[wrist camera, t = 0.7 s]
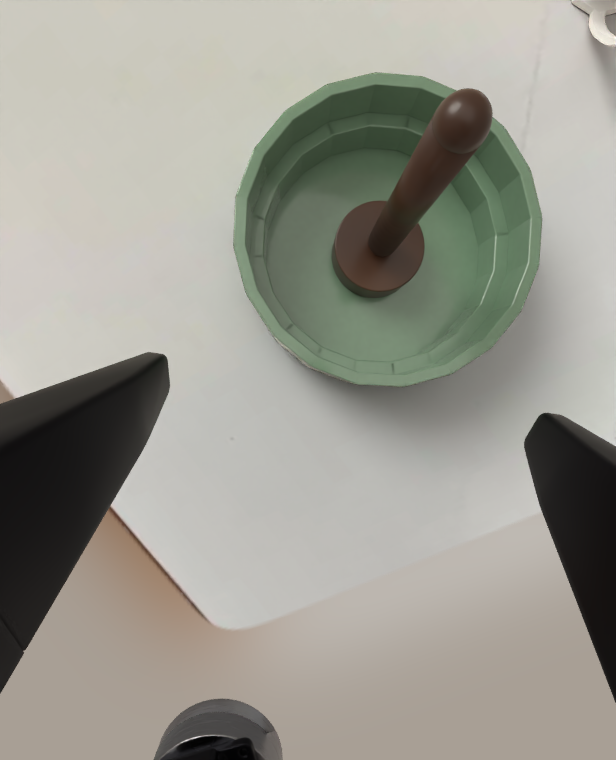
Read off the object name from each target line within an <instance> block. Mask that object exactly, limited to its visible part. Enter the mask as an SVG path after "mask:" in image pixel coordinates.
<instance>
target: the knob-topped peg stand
mask: <svg viewBox="0 0 616 760" xmlns="http://www.w3.org/2000/svg"><path fill="white" fill-rule="evenodd" d="M491 124H492V107H491V104H490V102H489V100H488V98H487V97H486V96H485V95H484V94H483V93H482V92H480V91H478V90H475V89H469V88H466V89H461V90H458V91H456V92H453V93H452V94H450V95H449V96H448V97H446V98H445V99H444V100H443V101H442V102H441V104H440V105H439V106H438V108H437V109H436V111H435V113H434V115H433V117H432V119H431V121H430V122H429V124H428V126H427V128H426V130H425V132H424V134H423V136H422V137H421V139H420V141H419V143H418V145H417V147H416V149H415V151H414V152H413V154H412V156H411V158H410V160H409V162H408V164H407V165H406V167H405V169H404V171H403V173H402V175H401V177H400V179H399V180H398V182H397V184H396V186H395V188H394V190H393V192H392V194H391V195H390V197H389V199H388V201H370V202H366V203H363V204H361V205H359V206H357V207H356V208H354V209H352V210H351V211H350V212H349V213H348V214H347V215H346V216H345V217H344V219H343V220H342V222H341V223H340V225H339V227H338V230H337V233H336V236H335V239H334V243H333V247H332V264H333V268H334V271H335V273H336V275H337V277H338V279H339V280H340V282H341V283H342V284H343V285H344V286H345V287H346V288H347V289H348V290H350V291H351V292H353V293H355V294H357V295H360V296H362V297H367V298H380V297H385V296H388V295H390V294H392V293H394V292H396V291H397V290H399V289H400V288H401V287H403V286H404V285H405V284H406V283H407V282H409V281H410V280H411V279H412V278H413V277H414V275H415V274H416V273H417V271H418V270H419V268H420V266H421V263H422V260H423V257H424V250H425V244H424V237H423V233H422V230H421V227H420V225H419V223H418V222H419V221H420V219H421V218H422V217H423V216H424V215H425V213H426V212H427V211H428V210H429V208H430V207H431V206H432V205H433V203H434V202H435V201H436V200H437V199H438V197H439V196H440V195H441V194H442V192H443V191H444V190H445V189H446V187H447V186H448V185H449V184H450V183H451V181H452V180H453V179H454V178H455V176H456V175H457V174H458V173H459V172H460V170H461V169H462V168H463V167H464V165H465V164H466V163H467V162H468V160H469V159H470V158H471V157H472V156H473V154H474V153H475V152H476V151H477V149H478V148H479V147H480V146H481V145H482V143H483V142H484V140H485V139H486V137H487V135H488V133H489V131H490V128H491Z"/></svg>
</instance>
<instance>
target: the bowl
mask: <svg viewBox="0 0 616 760" xmlns="http://www.w3.org/2000/svg"><path fill="white" fill-rule="evenodd" d="M456 91H457V90H454V89H452V88H449V87H447V86H445V85H442V84H440V83H438V82H435V81H433V80H431V79H428V78H426V77H423V76H414V75H401V74H389V73H377V72H375V73H370V74H366V75H362V76H358V77H354V78H350V79H346V80H342V81H338V82H334V83H330V84H327V85H325V86H323V87H322V88H320V89H318V90H317V91H315V92H314V93H312V94H310V95H309V96H307V97H306V98H304V99H303V100H301V101H299V102H298V103H296V104H295V105H293V106H292V107H290V108H288V109H287V110H286V111H285V112H284V113H283V114H282V115H281V116H280V117H279V119H278V120H277V121H276V122H275V124H274V125H273V126H272V127H271V129H270V130H269V131H268V132H267V133H266V135H265V136H264V137H263V138H262V140H261V141H260V142H259V143H258V144H257V146H256V147H255V148H254V150H253V152H252V155H251V157H250V160H249V162H248V165H247V168H246V170H245V173H244V176H243V178H242V181H241V183H240V186H239V189H238V191H237V194H236V198H235V218H234V238H233V246H234V251H235V255H236V259H237V262H238V266H239V270H240V273H241V277H242V281H243V284H244V288H245V292H246V294H247V296H248V298H249V300H250V301H251V303H252V304H253V306H254V307H255V309H256V311H257V312H258V314H259V315H260V317H261V318H262V320H263V321H264V323H265V324H266V326H267V327H268V329H269V331H270V332H271V334H272V335H273V337H274V338H275V340H276V341H277V342H278V343H279V344H280V345H281V346H282V347H284V348H285V349H286V350H287V351H288V352H290V353H291V354H292V355H293V356H295V357H296V358H297V359H298V360H300V361H301V362H302V363H303V364H304V365H306V366H307V367H309V368H310V369H313V370H315V371H318V372H321V373H323V374H326V375H328V376H331V377H333V378H336V379H339V380H341V381H344V382H348V383H352V384H357V385H375V386H394V387H407V386H410V385H414V384H418V383H422V382H425V381H429V380H433V379H436V378H440V377H444V376H447V375H450V374H453V373H454V372H456V371H457V370H459V369H460V368H462V367H463V366H465V365H467V364H468V363H470V362H471V361H473V360H474V359H476V358H477V357H479V356H480V355H482V354H483V353H485V352H486V351H488V350H489V349H491V348H492V347H493V346H494V344H495V343H496V342H497V341H498V339H499V338H500V337H501V336H502V334H503V333H504V332H505V331H506V329H507V328H508V327H509V326H510V324H511V323H512V322H513V321H514V320H515V318H516V317H517V316H518V315H519V313H520V312H521V310H522V308H523V306H524V303H525V301H526V298H527V295H528V293H529V290H530V288H531V285H532V283H533V280H534V277H535V275H536V272H537V270H538V267H539V266H538V265H539V260H540V244H541V229H542V214H541V210H540V206H539V202H538V198H537V193H536V189H535V185H534V181H533V177H532V173H531V170H530V168H529V166H528V164H527V163H526V161H525V159H524V158H523V156H522V155H521V153H520V151H519V150H518V148H517V146H516V145H515V143H514V141H513V140H512V138H511V136H510V135H509V133H508V132H507V130H506V129H504V126H503V125H501V124H500V123H499V122H498V121H497V120H496V119H495V118H493V117H492V124H491V128H490V131H489V133H488V135H487V137H486V139H485V140H484V142H483V143H482V145H481V146H480V147H479V148H478V149H477V151H476V152H475V153H474V154H473V156H472V157H471V158H470V159H469V160H468V162H467V163H466V164H465V165H464V167H463V168H462V169H461V170H460V172H459V173H458V174H457V175H456V176H455V178H454V179H453V180H452V181H451V183H450V184H449V185H448V186H447V187H446V189H445V190H444V191H443V192H442V194H441V195H440V196H439V197H438V199H437V200H436V201H435V202H434V203H433V205H432V206H431V207H430V208H429V210H428V211H427V212H426V213H425V215H424V216H423V217H422V218H421V219H420V221H419V222H418V223H419V225H420V227H421V230H422V233H423V237H424V244H425V250H424V257H423V260H422V263H421V266H420V268H419V270H418V271H417V273H416V274H415V275H414V277H413V278H412V279H411V280H410V281H409V282H407V283H406V284H405V285H404V286H403V287H401V288H400V289H399V290H397V291H396V292H394V293H392V294H390V295H388V296H385V297H380V298H367V297H362V296H360V295H357V294H355V293H353V292H351V291H350V290H348V289H347V288H346V287H345V286H344V285H343V284H342V283H341V282H340V280H339V279H338V277H337V275H336V273H335V271H334V268H333V264H332V247H333V243H334V239H335V236H336V233H337V230H338V227H339V225H340V223H341V222H342V220H343V219H344V217H345V216H346V215H347V214H348V213H349V212H350V211H351V210H352V209H354V208H356V207H357V206H359V205H361V204H363V203H366V202H370V201H388V199H389V197H390V195H391V194H392V192H393V190H394V188H395V186H396V184H397V182H398V180H399V179H400V177H401V175H402V173H403V171H404V169H405V167H406V165H407V164H408V162H409V160H410V158H411V156H412V154H413V152H414V151H415V149H416V147H417V145H418V143H419V141H420V139H421V137H422V136H423V134H424V132H425V130H426V128H427V126H428V124H429V122H430V121H431V119H432V117H433V115H434V113H435V111H436V109H437V108H438V106H439V105H440V104H441V102H442V101H443V100H444V99H445V98H446V97H448V96H449V95H450V94H452V93H453V92H456Z"/></svg>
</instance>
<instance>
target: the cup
mask: <svg viewBox="0 0 616 760" xmlns="http://www.w3.org/2000/svg"><path fill="white" fill-rule="evenodd" d="M571 1H572V4H574V5H575V6H577V7H578V8H580V9H582V10H583V11H585V12H586V13H588V14H589V15H590V17H589V28H590V30H591V33H592V35H593V36H594V37H595V38H596V39H597V40H599V41H600V42H601V43H603V44H605V45H607V46H613V47H616V36H615V35H613V34H612V33H610V32H609V31H608V28H607V26H606V24H605V15H609V14H613V13H616V0H571Z"/></svg>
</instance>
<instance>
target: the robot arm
mask: <svg viewBox="0 0 616 760" xmlns="http://www.w3.org/2000/svg"><path fill="white" fill-rule="evenodd" d="M169 388H170V380H169V370H168V360H167V357H166V356H165V355H163V354H158V353H151V352H147V353H144V354H141V355H138V356H135V357H133V358H130V359H127V360H124V361H121V362H118V363H116V364H113V365H110V366H107V367H104V368H101V369H98V370H96V371H93V372H90V373H87V374H84V375H81V376H78V377H76V378H73V379H70V380H67V381H64V382H61V383H58V384H56V385H53V386H50V387H47V388H44V389H41V390H39V391H36V392H33V393H30V394H27V395H24V396H21V397H19V398H16V399H13V400H10V401H8V402H5V403H2V404H0V693H1V691H2V690H3V688H4V686H5V685H6V683H7V681H8V679H9V678H10V676H11V675H12V673H13V671H14V669H15V668H16V666H17V664H18V663H19V661H20V659H21V657H22V656H23V654H24V652H23V651H24V650H26V648H27V647H28V645H29V643H30V642H31V640H32V638H33V636H34V635H35V632H36V631H37V630H38V628H39V626H40V624H41V623H42V621H43V619H44V618H45V616H46V614H47V613H48V611H49V609H50V607H51V606H52V604H53V602H54V600H55V599H56V597H57V595H58V594H59V592H60V590H61V588H62V587H63V585H64V584H65V582H66V580H67V578H68V577H69V575H70V573H71V572H72V570H73V568H74V566H75V565H76V563H77V561H78V560H79V558H80V556H81V554H82V553H83V551H84V549H85V548H86V546H87V544H88V543H89V541H90V539H91V538H92V536H93V534H94V532H95V531H96V529H97V527H98V526H99V524H100V522H101V520H102V519H103V517H104V515H105V514H106V512H107V510H108V509H109V507H110V505H111V504H112V502H113V500H114V498H115V497H116V495H117V493H118V492H119V490H120V488H121V486H122V485H123V483H124V481H125V480H126V478H127V476H128V475H129V473H130V471H131V469H132V468H133V466H134V464H135V463H136V461H137V459H138V458H139V456H140V454H141V452H142V451H143V449H144V447H145V445H146V443H147V441H148V439H149V437H150V434H151V432H152V430H153V428H154V425H155V423H156V421H157V418H158V416H159V414H160V411H161V409H162V407H163V404H164V402H165V400H166V397H167V395H168V393H169ZM524 448H525V452H526V456H527V460H528V464H529V468H530V471H531V475H532V479H533V483H534V486H535V490H536V494H537V497H538V501H539V504H540V507H541V510H542V513H543V515H544V518H545V520H546V523H547V526H548V528H549V531H550V534H551V536H552V539H553V541H554V544H555V547H556V549H557V552H558V554H559V557H560V560H561V562H562V565H563V567H564V570H565V572H566V575H567V578H568V580H569V583H570V585H571V588H572V591H573V593H574V596H575V598H576V601H577V603H578V606H579V609H580V611H581V614H582V617H583V619H584V622H585V624H586V627H587V629H588V632H589V635H590V637H591V640H592V643H593V645H594V648H595V650H596V653H597V656H598V658H599V661H600V663H601V666H602V669H603V671H604V674H605V676H606V679H607V682H608V684H609V687H610V689H611V692H612V694H613V697H614V700H615V702H616V446H614V445H612V444H610V443H609V442H607V441H605V440H604V439H602V438H600V437H598V436H597V435H595V434H593V433H592V432H590V431H588V430H586V429H585V428H583V427H581V426H580V425H578V424H576V423H574V422H573V421H571V420H569V419H568V418H566V417H564V416H562V415H557V414H551V413H543V414H541V415H540V416H539V417H538V418H537V420H536V422H535V423H534V425H533V427H532V428H531V430H530V432H529V433H528V435H527V436H526V438H525V442H524ZM243 748H245V749H246V750H243ZM168 760H258V759H257V755H256V752H255V748H254V744H253V742H252V740H251V739H250V738H247V737H243V738H239V739H236V740H232V741H229V742H226V743H222V744H219V745H215V746H212V747H209V748H205V749H202V750H198V751H195V752H192V753H188V754H185V755H181V756H178V757H175V758H171V759H168Z"/></svg>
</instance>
